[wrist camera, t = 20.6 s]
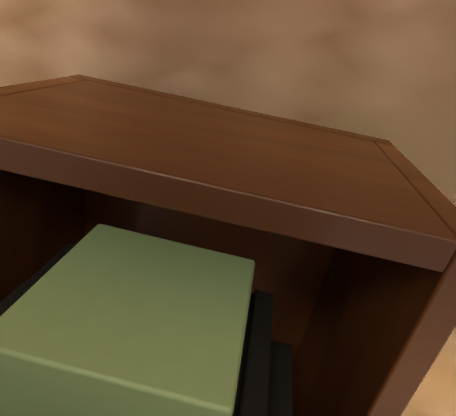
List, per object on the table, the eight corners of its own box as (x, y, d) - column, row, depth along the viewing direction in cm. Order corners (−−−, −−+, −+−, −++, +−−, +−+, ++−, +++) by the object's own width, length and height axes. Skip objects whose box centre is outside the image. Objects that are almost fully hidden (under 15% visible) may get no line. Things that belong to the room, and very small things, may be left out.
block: (95, 339, 12) (-4, 490, 8) (98, 221, 10) (-31, 342, 6) (227, 373, 12) (194, 548, 8) (256, 259, 10) (233, 413, 6)
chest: (78, 74, 16) (-135, 106, 8) (389, 140, 15) (503, 251, 7) (79, 334, 22) (-34, 492, 15) (293, 389, 22) (296, 589, 14)
